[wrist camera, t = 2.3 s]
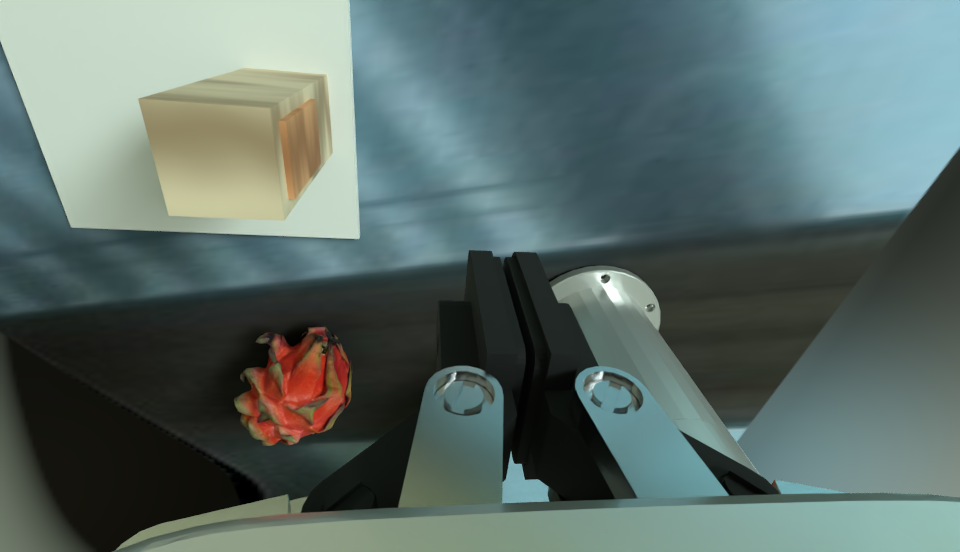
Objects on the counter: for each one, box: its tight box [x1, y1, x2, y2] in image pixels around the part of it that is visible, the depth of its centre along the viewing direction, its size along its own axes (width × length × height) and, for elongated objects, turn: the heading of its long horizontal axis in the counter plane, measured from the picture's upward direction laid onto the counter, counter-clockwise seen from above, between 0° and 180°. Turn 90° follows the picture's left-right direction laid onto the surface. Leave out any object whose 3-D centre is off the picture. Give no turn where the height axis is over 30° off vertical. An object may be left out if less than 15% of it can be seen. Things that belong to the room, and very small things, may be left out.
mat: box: [0, 0, 360, 239], centre depth 30 cm, size 18×20×1 cm
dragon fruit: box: [234, 327, 352, 446], centre depth 38 cm, size 8×8×12 cm
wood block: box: [138, 68, 333, 221], centre depth 25 cm, size 5×5×12 cm
